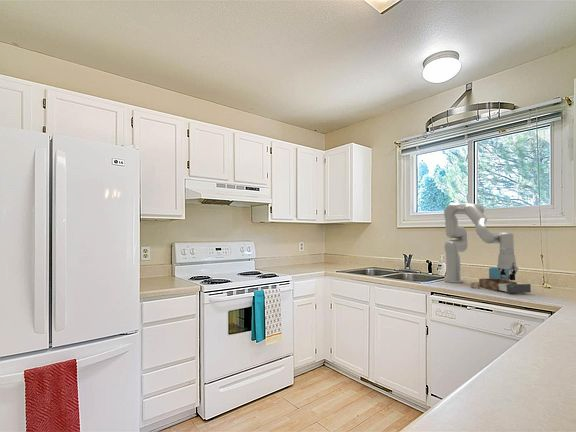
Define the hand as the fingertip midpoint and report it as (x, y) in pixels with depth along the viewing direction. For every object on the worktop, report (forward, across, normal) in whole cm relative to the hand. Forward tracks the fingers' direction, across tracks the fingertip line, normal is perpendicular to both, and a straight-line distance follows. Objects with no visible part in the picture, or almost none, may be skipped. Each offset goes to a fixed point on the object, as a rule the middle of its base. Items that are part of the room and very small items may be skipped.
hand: (507, 279), depth 199 cm
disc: (0, 0, 0) cm, 0 cm away
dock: (+8, -8, 0) cm, 11 cm away
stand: (+8, -13, -13) cm, 20 cm away
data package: (+8, -24, +14) cm, 29 cm away
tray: (+7, +1, 0) cm, 7 cm away
